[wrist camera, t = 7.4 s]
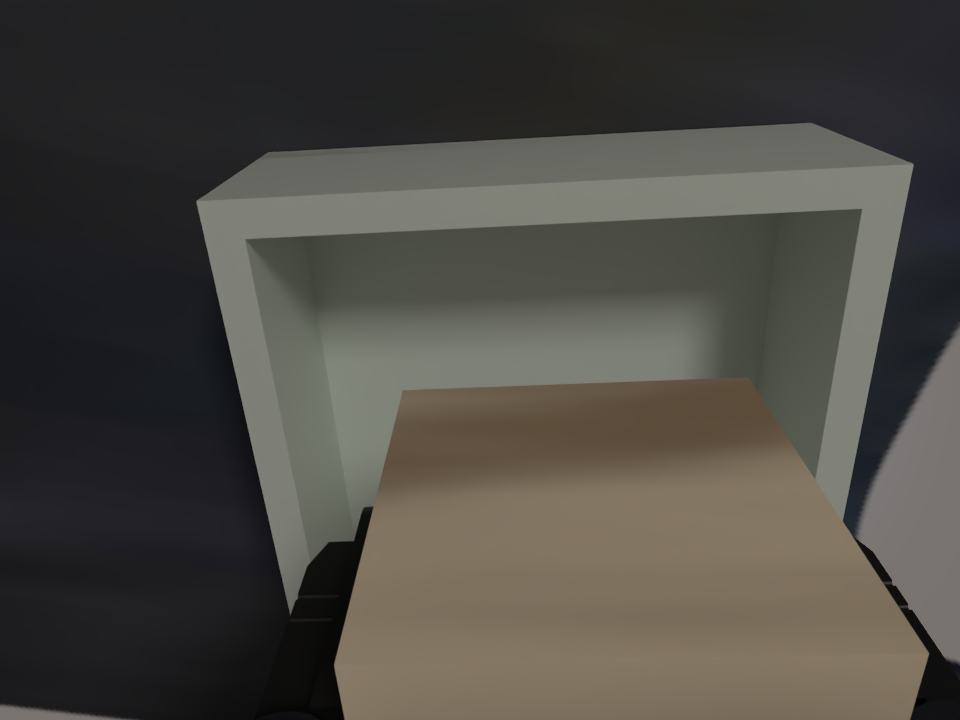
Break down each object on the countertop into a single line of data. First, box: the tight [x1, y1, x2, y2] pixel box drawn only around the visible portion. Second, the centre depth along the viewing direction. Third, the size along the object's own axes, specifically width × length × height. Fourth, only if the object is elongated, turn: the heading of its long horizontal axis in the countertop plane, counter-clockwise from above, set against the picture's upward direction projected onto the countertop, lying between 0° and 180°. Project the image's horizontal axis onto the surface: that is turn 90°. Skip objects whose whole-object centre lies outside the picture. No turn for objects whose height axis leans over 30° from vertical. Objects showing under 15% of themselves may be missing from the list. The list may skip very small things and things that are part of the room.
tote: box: [196, 123, 913, 615], centre depth 20 cm, size 18×14×5 cm
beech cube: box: [334, 377, 929, 720], centre depth 10 cm, size 5×5×5 cm
